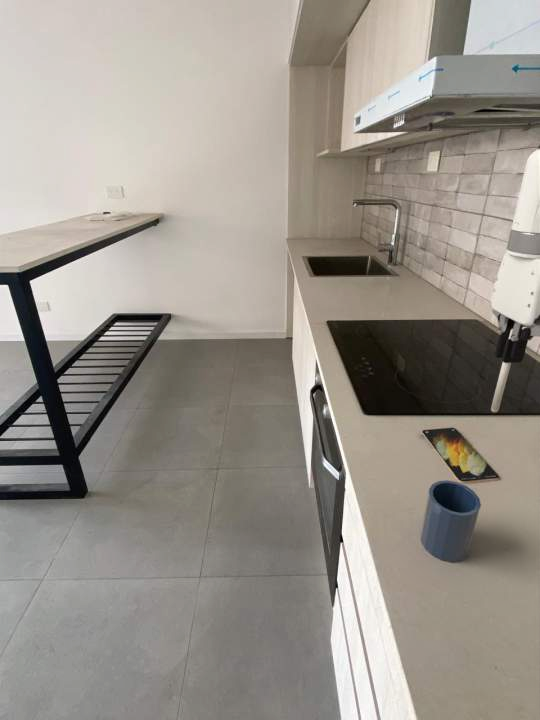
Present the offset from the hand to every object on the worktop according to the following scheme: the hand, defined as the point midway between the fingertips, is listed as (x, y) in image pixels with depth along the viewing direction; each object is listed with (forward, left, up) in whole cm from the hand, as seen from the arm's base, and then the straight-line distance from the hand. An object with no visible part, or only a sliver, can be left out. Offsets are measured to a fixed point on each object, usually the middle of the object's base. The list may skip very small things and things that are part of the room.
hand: (508, 358), depth 65 cm
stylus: (0, 0, -11) cm, 11 cm away
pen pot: (+17, +18, -20) cm, 31 cm away
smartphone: (+5, 0, -20) cm, 20 cm away
